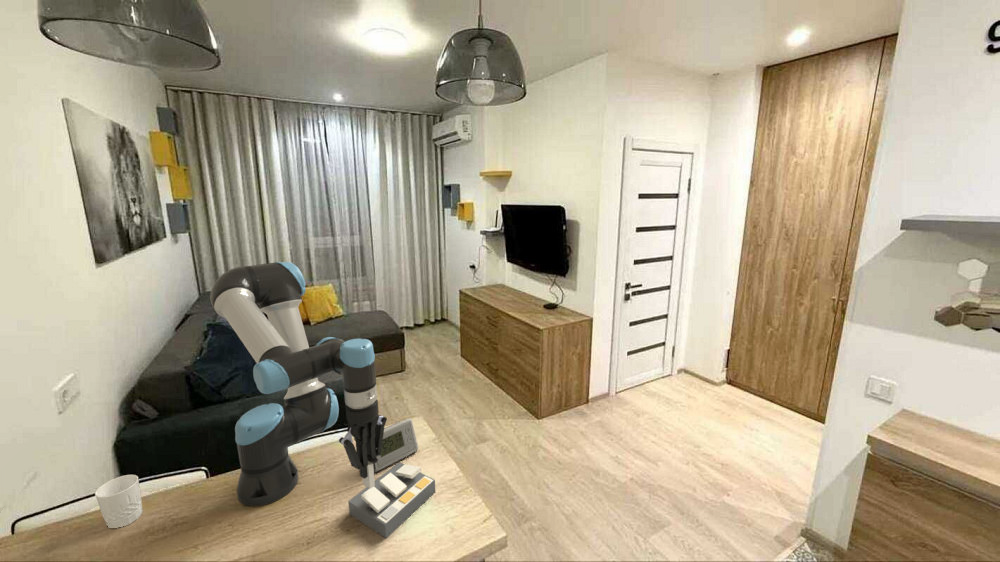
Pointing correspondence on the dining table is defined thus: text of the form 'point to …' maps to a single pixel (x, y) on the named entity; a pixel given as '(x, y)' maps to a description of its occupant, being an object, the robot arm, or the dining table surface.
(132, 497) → the white cup
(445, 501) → the dining table surface
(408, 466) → the switch
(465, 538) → the dining table surface
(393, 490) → the switch
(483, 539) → the dining table surface
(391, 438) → the digital clock
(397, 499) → the panel
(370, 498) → the switch
